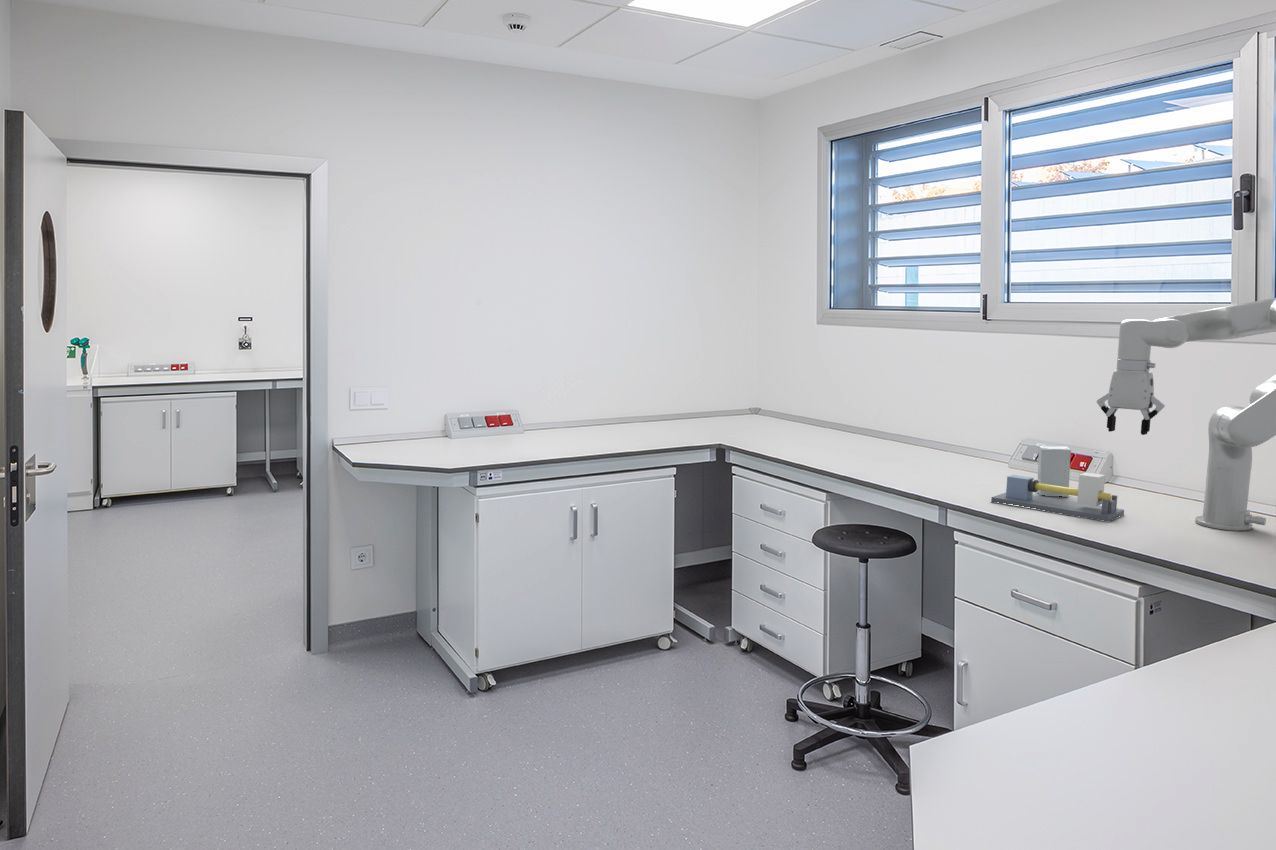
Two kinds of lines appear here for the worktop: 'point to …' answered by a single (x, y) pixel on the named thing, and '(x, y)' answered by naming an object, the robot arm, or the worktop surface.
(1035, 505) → the yellow rod jig
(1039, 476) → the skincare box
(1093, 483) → the sleeve
